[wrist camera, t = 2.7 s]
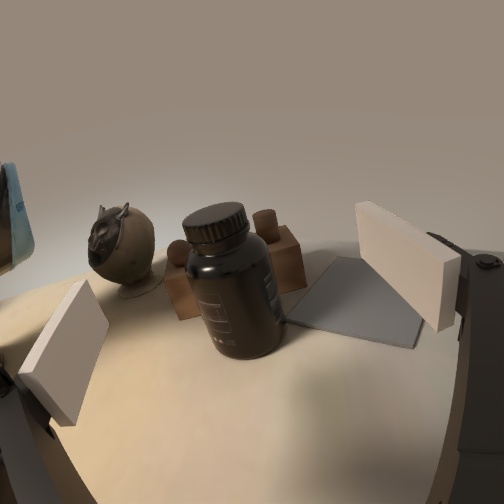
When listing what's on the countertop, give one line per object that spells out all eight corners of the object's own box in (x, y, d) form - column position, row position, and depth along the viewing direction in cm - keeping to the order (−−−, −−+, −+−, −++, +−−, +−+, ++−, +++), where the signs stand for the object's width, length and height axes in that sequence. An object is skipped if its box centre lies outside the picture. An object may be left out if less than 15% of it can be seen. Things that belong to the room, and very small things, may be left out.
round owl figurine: (94, 307, 41) (152, 304, 38) (57, 229, 36) (113, 213, 33) (128, 271, 50) (182, 263, 47) (100, 202, 45) (154, 186, 42)
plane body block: (179, 320, 34) (153, 254, 30) (182, 292, 39) (160, 232, 36) (306, 286, 34) (294, 216, 31) (292, 262, 39) (280, 200, 36)
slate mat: (285, 321, 30) (285, 318, 29) (337, 259, 38) (337, 256, 37) (412, 349, 22) (413, 345, 22) (436, 271, 30) (436, 267, 30)
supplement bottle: (250, 306, 33) (220, 194, 28) (302, 326, 28) (278, 198, 23) (199, 344, 29) (154, 226, 24) (249, 374, 24) (204, 237, 19)
